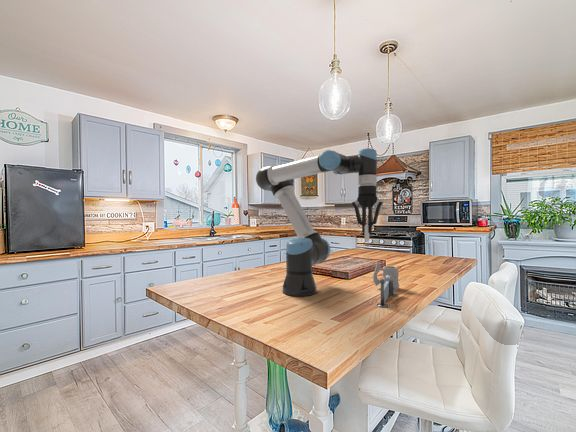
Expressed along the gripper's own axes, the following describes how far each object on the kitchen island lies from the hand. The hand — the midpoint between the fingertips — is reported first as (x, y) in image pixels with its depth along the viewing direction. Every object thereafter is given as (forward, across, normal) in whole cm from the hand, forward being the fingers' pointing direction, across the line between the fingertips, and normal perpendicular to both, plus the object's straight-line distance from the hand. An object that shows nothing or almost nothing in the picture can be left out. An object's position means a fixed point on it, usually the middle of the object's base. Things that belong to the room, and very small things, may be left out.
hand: (366, 240), depth 119 cm
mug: (+23, +6, +13) cm, 27 cm away
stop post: (+23, +10, +3) cm, 25 cm away
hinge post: (+23, +9, -13) cm, 28 cm away
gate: (+22, +8, -4) cm, 24 cm away
